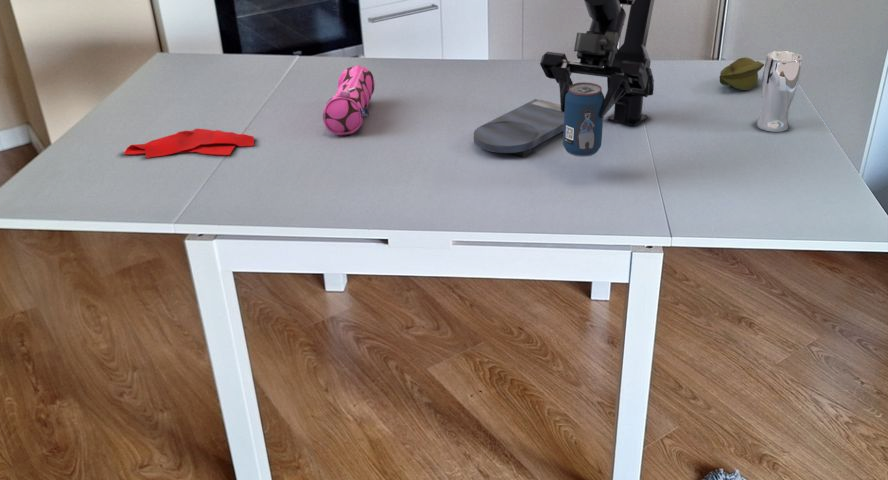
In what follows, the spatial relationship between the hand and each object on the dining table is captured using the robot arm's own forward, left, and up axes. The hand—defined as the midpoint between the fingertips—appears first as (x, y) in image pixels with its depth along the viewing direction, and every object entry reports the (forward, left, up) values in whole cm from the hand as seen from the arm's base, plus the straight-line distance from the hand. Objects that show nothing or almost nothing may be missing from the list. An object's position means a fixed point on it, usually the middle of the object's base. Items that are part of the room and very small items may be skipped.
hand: (581, 114), depth 160 cm
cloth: (+32, -73, -13) cm, 81 cm away
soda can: (-1, 0, -8) cm, 8 cm away
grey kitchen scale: (-12, -20, -13) cm, 27 cm away
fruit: (-66, +2, -13) cm, 67 cm away
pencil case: (+2, -56, -13) cm, 58 cm away
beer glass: (-47, +18, -13) cm, 52 cm away
